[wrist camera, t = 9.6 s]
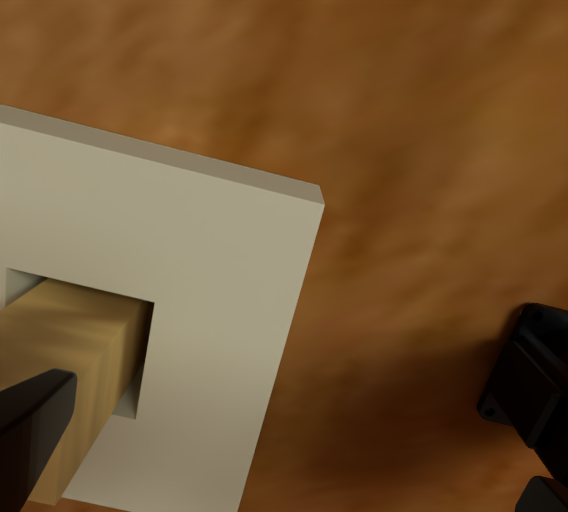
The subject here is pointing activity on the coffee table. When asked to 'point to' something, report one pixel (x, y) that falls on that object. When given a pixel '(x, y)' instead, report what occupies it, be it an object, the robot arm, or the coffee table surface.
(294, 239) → the socket block
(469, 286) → the coffee table surface
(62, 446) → the peg
